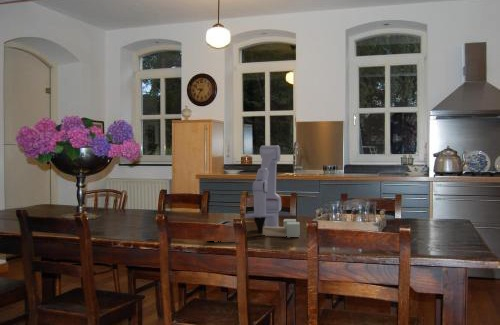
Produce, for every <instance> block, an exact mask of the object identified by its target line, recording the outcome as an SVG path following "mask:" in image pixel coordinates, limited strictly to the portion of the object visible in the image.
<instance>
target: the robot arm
mask: <svg viewBox="0 0 500 325" xmlns="http://www.w3.org/2000/svg"><path fill="white" fill-rule="evenodd" d="M259 156H260V158H261V164H260V168H258V169H257V173H256V176H255V180H254V181H252V188H251V189H252V196H253V213H245V214H244V219H253V220H254V223H255V225H256V228H257V232H258V234H259V235H260V234H262V233H263V227H281V226H279V212H281V210H282V204H283V203H282V197H281V196H280V195H279V194H278V193H277V165H278V162H281V147H280V146H279V144H277V145H261V146H260V147H259Z"/></svg>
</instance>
